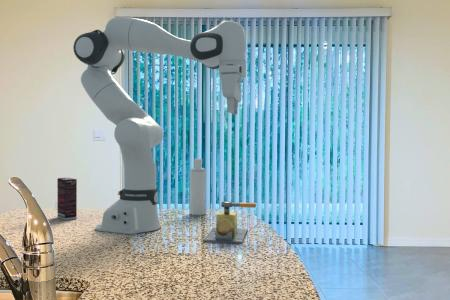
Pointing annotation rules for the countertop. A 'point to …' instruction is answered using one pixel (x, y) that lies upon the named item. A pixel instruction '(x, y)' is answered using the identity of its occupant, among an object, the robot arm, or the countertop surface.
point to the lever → (237, 204)
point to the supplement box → (67, 198)
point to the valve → (226, 229)
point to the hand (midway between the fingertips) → (232, 113)
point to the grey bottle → (198, 189)
